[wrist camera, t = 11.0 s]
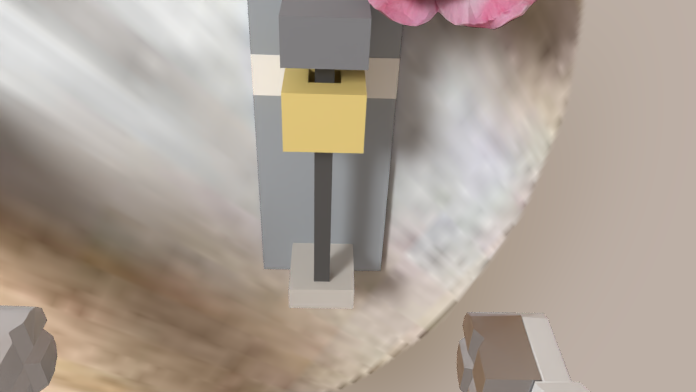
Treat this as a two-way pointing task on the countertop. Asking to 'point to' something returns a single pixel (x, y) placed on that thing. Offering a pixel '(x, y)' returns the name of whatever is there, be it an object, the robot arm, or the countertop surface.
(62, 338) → the countertop surface
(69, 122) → the countertop surface
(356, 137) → the sleeve
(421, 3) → the flower
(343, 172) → the grey slider rail toy
